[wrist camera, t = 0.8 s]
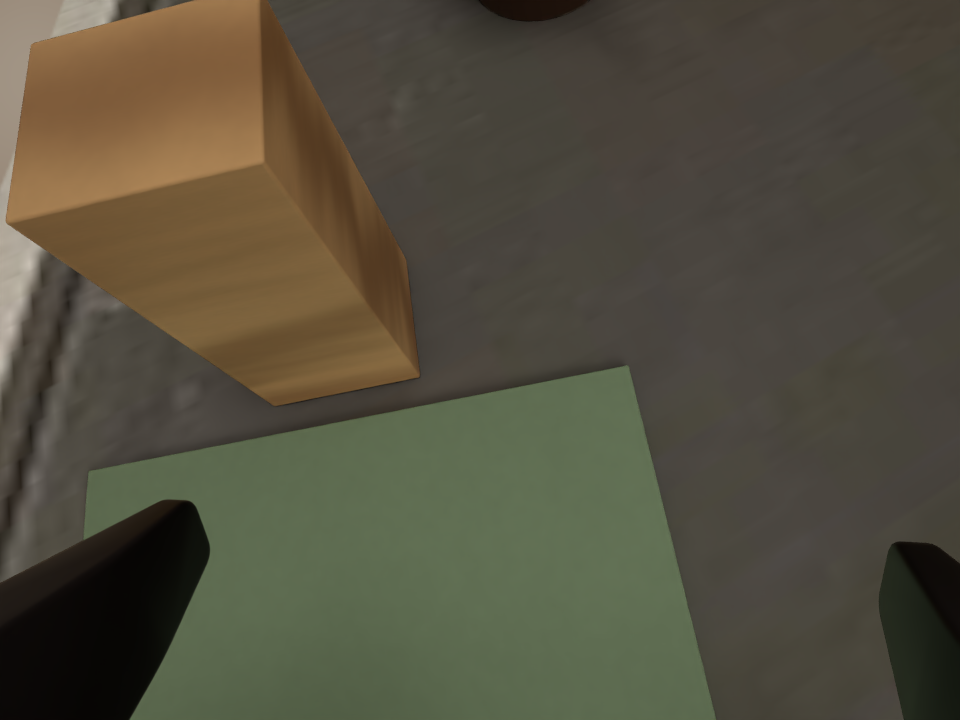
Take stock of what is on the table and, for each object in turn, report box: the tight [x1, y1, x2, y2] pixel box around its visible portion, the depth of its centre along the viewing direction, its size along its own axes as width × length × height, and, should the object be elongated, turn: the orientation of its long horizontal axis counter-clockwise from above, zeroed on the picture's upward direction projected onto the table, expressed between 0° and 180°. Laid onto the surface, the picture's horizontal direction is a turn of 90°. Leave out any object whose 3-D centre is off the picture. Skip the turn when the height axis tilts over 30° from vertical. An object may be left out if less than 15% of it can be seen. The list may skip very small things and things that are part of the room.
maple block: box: [6, 0, 420, 406], centre depth 20 cm, size 5×6×12 cm
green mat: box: [83, 366, 716, 720], centre depth 22 cm, size 15×20×1 cm
